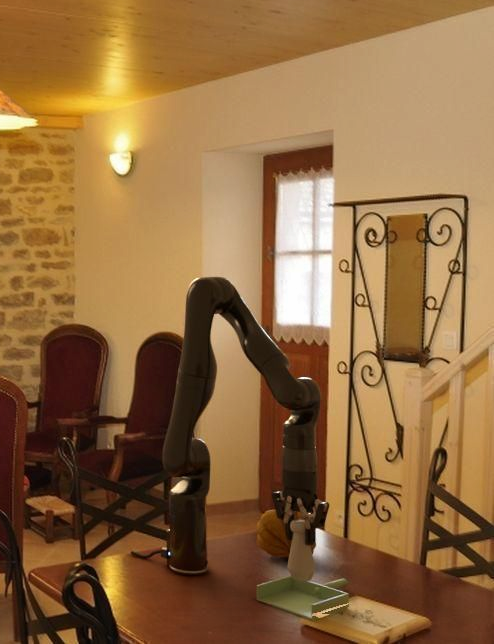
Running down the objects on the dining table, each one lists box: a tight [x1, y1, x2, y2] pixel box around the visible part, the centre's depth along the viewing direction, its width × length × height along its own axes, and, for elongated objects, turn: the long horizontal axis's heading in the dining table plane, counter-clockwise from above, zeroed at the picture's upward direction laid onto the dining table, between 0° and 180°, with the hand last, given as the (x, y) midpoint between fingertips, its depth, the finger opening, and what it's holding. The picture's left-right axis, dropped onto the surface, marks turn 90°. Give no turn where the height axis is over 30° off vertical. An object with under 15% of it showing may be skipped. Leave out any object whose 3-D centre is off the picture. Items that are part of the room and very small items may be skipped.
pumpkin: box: [256, 508, 317, 560], centre depth 235 cm, size 14×16×20 cm
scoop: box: [256, 574, 350, 622], centre depth 204 cm, size 22×15×3 cm, turn 122°
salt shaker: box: [287, 520, 316, 581], centre depth 202 cm, size 6×6×13 cm
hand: (300, 541), depth 202 cm, fingers closed on salt shaker, 4 cm apart
